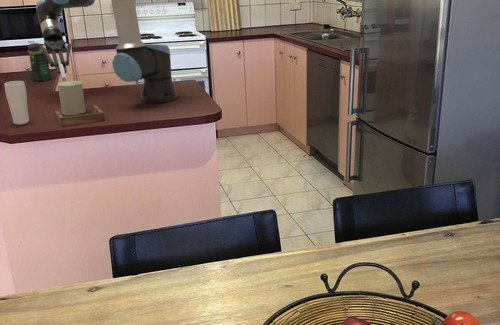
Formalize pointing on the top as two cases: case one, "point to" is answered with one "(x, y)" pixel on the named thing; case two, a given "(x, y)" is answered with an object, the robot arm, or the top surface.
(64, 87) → the can
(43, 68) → the coffee jar
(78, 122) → the corral
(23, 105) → the drinking glass
